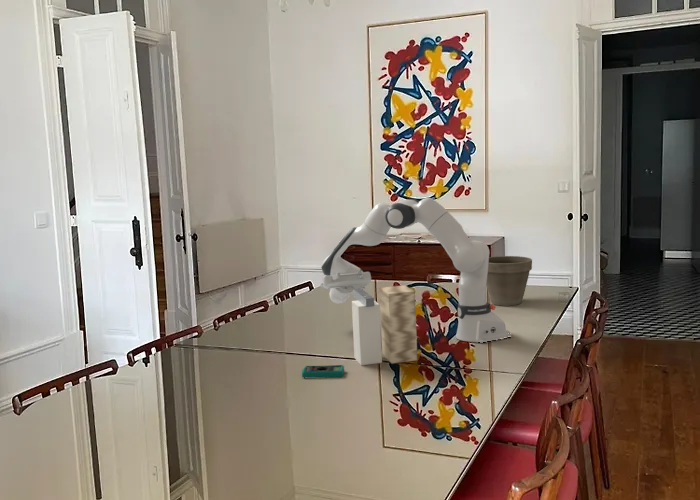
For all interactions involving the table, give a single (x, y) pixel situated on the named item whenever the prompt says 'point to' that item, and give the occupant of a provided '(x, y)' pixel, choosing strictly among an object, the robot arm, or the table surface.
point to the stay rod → (363, 297)
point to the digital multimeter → (323, 371)
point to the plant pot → (507, 279)
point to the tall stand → (398, 323)
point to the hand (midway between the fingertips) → (349, 273)
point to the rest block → (366, 333)
